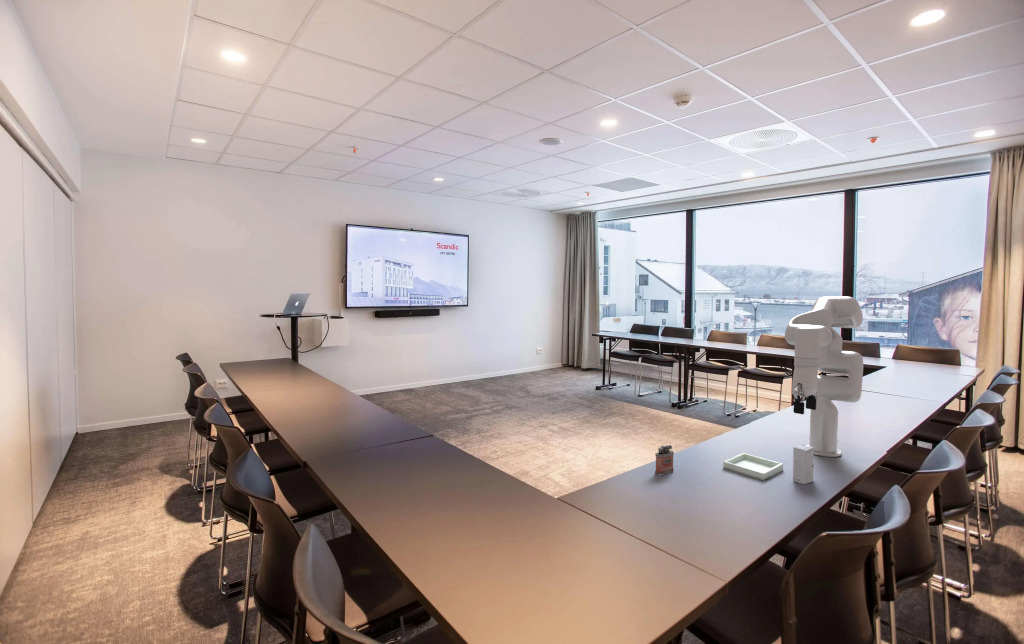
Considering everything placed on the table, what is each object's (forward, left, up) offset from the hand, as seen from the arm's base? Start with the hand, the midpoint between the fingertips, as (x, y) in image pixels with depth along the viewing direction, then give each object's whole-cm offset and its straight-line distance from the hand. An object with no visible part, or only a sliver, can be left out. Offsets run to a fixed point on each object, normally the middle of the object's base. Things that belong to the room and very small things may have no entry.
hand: (804, 411), depth 167 cm
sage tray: (+3, -16, -25) cm, 30 cm away
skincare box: (0, 0, -25) cm, 25 cm away
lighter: (+31, -35, -25) cm, 53 cm away
